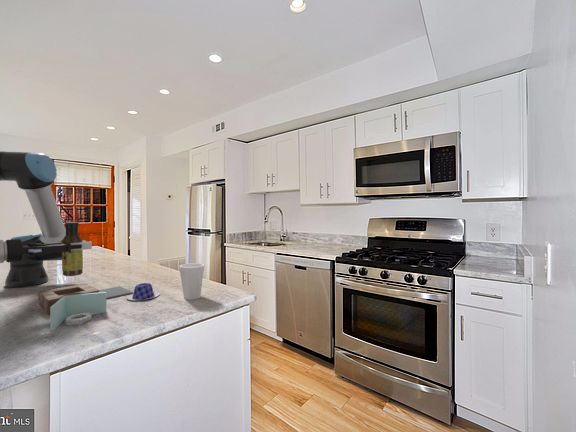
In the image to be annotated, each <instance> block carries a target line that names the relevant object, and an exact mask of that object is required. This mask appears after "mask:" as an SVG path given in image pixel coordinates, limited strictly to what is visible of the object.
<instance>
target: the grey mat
mask: <svg viewBox="0 0 576 432" xmlns="http://www.w3.org/2000/svg"><path fill="white" fill-rule="evenodd" d="M98 290H99V292H106V300H109V299H113V298H118V297H122V296H127V295H128V296H129V295H131V294H133V293H134V291H132V290H129V289H127V288H125V287H123V286H121V285H119V286H113V287H109V288H104V289H98Z"/></svg>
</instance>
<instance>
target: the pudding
mask: <svg viewBox="0 0 576 432" xmlns="http://www.w3.org/2000/svg"><path fill="white" fill-rule="evenodd" d="M159 296H160V292H158V291H154V290H153V284H151V283H149V282H148V283H147V282H144V283H143V282H142V283H138V284H136V285H135V286H134V290H133V294H128V296H127V295H126V299H127V300H129V301H145V300H150V299H151V300H152V299H154V298H156V297H159Z"/></svg>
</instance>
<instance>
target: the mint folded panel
mask: <svg viewBox="0 0 576 432" xmlns="http://www.w3.org/2000/svg"><path fill="white" fill-rule="evenodd" d="M107 311H108V310H107V299H106V292H98V293H88V294H78V295H67V296H63V297H62V298H61V299H60V300H58V301H57V302H56V303H55V304H54V305H52V306H51V307H50V315H49V316H50V331H55V330H56V329H58V327H59V326H60V325H61V324H62V323H63V322H64V325H67V326H75V325H78V326H79V325H82V324H84V323H86V322H90V321H91V320H92V315H94V314H95V315H97V314H105V313H107Z"/></svg>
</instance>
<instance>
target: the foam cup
mask: <svg viewBox="0 0 576 432" xmlns="http://www.w3.org/2000/svg"><path fill="white" fill-rule="evenodd" d="M179 273H180V280H181V287H182V294H183V298H184V300H188V301H193V299H194V300H198V299H200V298H201V295H202V286H203V278H204V273H205V264H204V263H200V262H199V263H198V262H193V263H184V264H180V265H179Z"/></svg>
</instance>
